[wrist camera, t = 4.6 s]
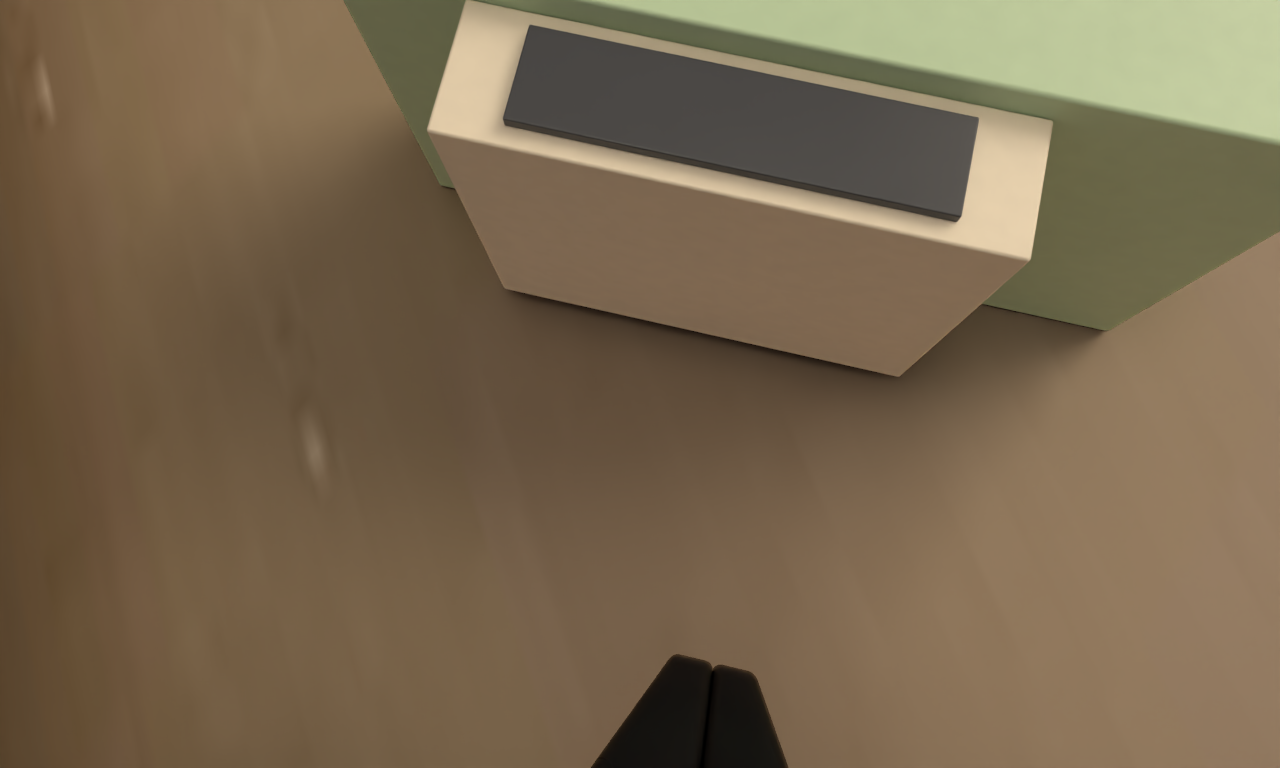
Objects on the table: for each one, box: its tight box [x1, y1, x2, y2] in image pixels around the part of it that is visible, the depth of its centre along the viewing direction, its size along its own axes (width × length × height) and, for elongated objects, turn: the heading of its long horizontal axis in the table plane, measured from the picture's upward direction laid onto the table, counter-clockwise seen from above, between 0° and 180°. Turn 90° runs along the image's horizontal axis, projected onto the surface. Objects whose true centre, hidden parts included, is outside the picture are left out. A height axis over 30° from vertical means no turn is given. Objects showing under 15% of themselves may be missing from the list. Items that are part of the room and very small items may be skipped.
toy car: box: [343, 0, 1280, 377], centre depth 17 cm, size 14×6×8 cm, turn 77°
